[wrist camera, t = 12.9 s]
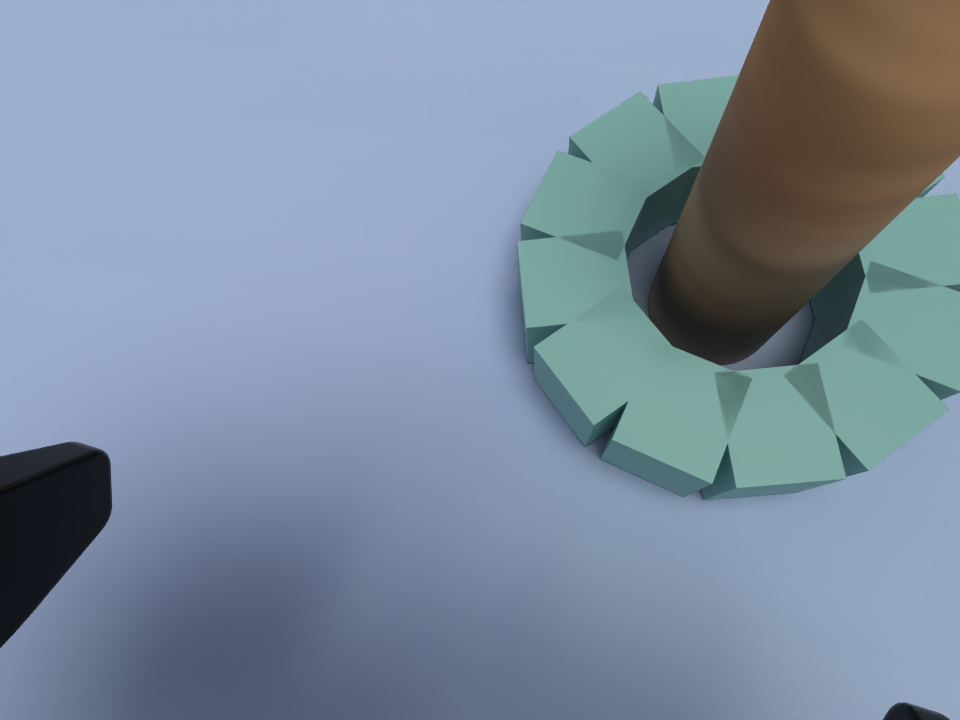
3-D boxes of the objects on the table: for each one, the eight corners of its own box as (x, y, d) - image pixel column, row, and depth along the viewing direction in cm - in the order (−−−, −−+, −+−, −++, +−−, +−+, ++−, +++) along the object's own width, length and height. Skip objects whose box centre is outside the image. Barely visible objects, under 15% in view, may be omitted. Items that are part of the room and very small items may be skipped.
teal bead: (956, 216, 19) (1029, 156, 16) (845, 569, 17) (909, 571, 14) (607, 101, 21) (618, 30, 18) (461, 396, 19) (447, 366, 16)
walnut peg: (801, 314, 19) (1323, -175, 6) (708, 390, 18) (1071, 26, 6) (712, 229, 20) (1011, -335, 7) (622, 299, 19) (777, -175, 7)
